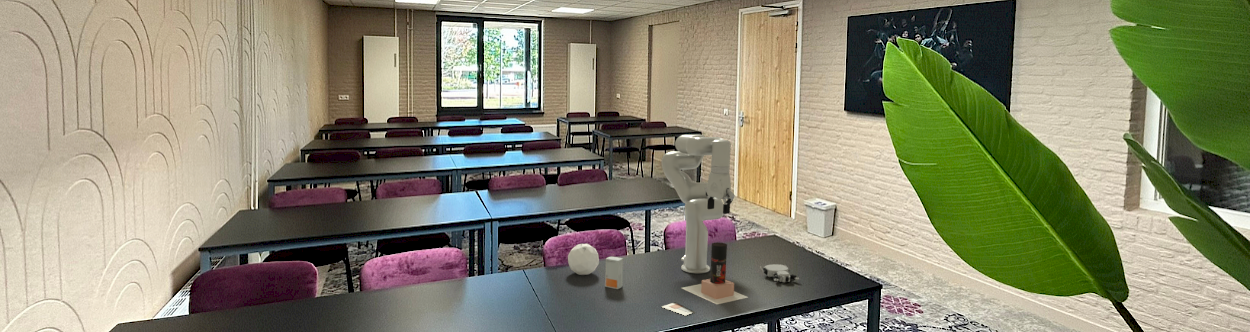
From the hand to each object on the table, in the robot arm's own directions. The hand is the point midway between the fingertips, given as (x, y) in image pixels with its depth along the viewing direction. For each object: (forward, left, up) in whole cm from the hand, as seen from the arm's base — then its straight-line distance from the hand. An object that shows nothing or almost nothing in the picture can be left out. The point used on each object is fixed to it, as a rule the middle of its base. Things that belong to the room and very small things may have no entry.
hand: (718, 211), depth 298 cm
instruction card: (+18, -32, -30) cm, 48 cm away
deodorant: (+14, -11, -24) cm, 30 cm away
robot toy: (+10, +27, -31) cm, 42 cm away
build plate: (+12, -11, -30) cm, 34 cm away
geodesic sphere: (-37, -42, -31) cm, 64 cm away
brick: (+14, -11, -29) cm, 34 cm away
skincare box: (-16, -40, -31) cm, 53 cm away
